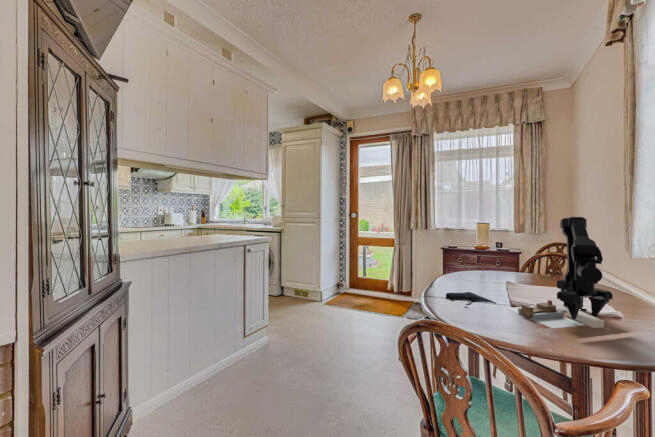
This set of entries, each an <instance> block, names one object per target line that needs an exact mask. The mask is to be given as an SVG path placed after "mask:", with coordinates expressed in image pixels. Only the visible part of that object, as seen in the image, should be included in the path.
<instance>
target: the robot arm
mask: <svg viewBox="0 0 655 437" xmlns="http://www.w3.org/2000/svg"><path fill="white" fill-rule="evenodd" d="M587 221H588V220H587V218H585V217H584V216H570V217H563V218H561V219H560V220H559V227H560V229H561V233H562V234H563V235H564V237H565V238H566V252H567V253H566V255H567V256H566V260H567V271H566V272H565V274H564V275H563V278H562V279H561V280H560V279H559V280H556V287H557V289H558V290H559V289H560V290H559V291H558V292H556V299H558V300H559V301H561V302H563V306H565V307H567V309H568V310H569V312H570V314H571V317H572V318H571V320H575V319H576V317H577V315H578V311H579V309H582V307H583V308H584V299H587V298H588V299H589V301H590V309H591V315H592V316H594V317H597V316H599V314H600V312H601V311H602V310H603V309H604V307H605V306H606V305H607V304H608V303H609V302H610V301H611V300H613V293H612V292H611V291H610V290H606V289H602V288H598V287H596V286H595V285H598V283H599V282H601V280H602V279H603V272H602V271H601V269H599V268H598V267H597V265H602V264H603V263H602V262H603V260H604V259H603V255H602V251H601V250H600V247H599V246H597V243H596V241H595V240H593V239H591V238H590V237H589V233H588V231H587V226H588V224H587ZM595 287H596V288H595Z"/></svg>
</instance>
